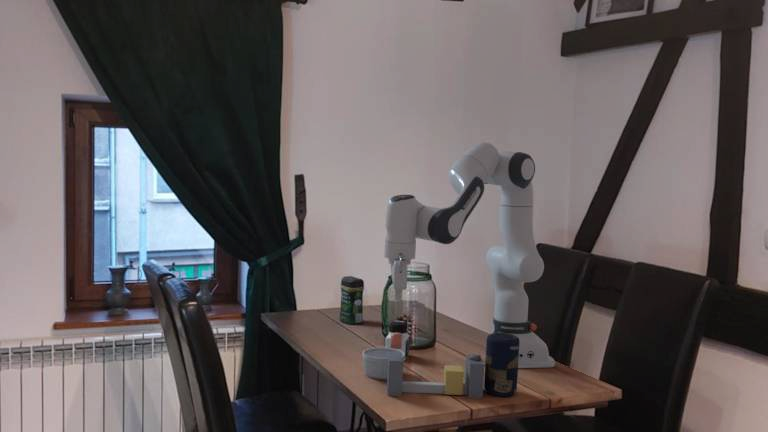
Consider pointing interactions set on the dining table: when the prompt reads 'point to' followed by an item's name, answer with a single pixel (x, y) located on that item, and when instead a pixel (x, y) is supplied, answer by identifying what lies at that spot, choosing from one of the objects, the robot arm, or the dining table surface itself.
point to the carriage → (453, 380)
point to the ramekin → (377, 362)
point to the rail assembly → (470, 387)
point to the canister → (501, 364)
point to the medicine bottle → (402, 328)
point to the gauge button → (396, 340)
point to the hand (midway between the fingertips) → (398, 299)
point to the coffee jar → (351, 300)
